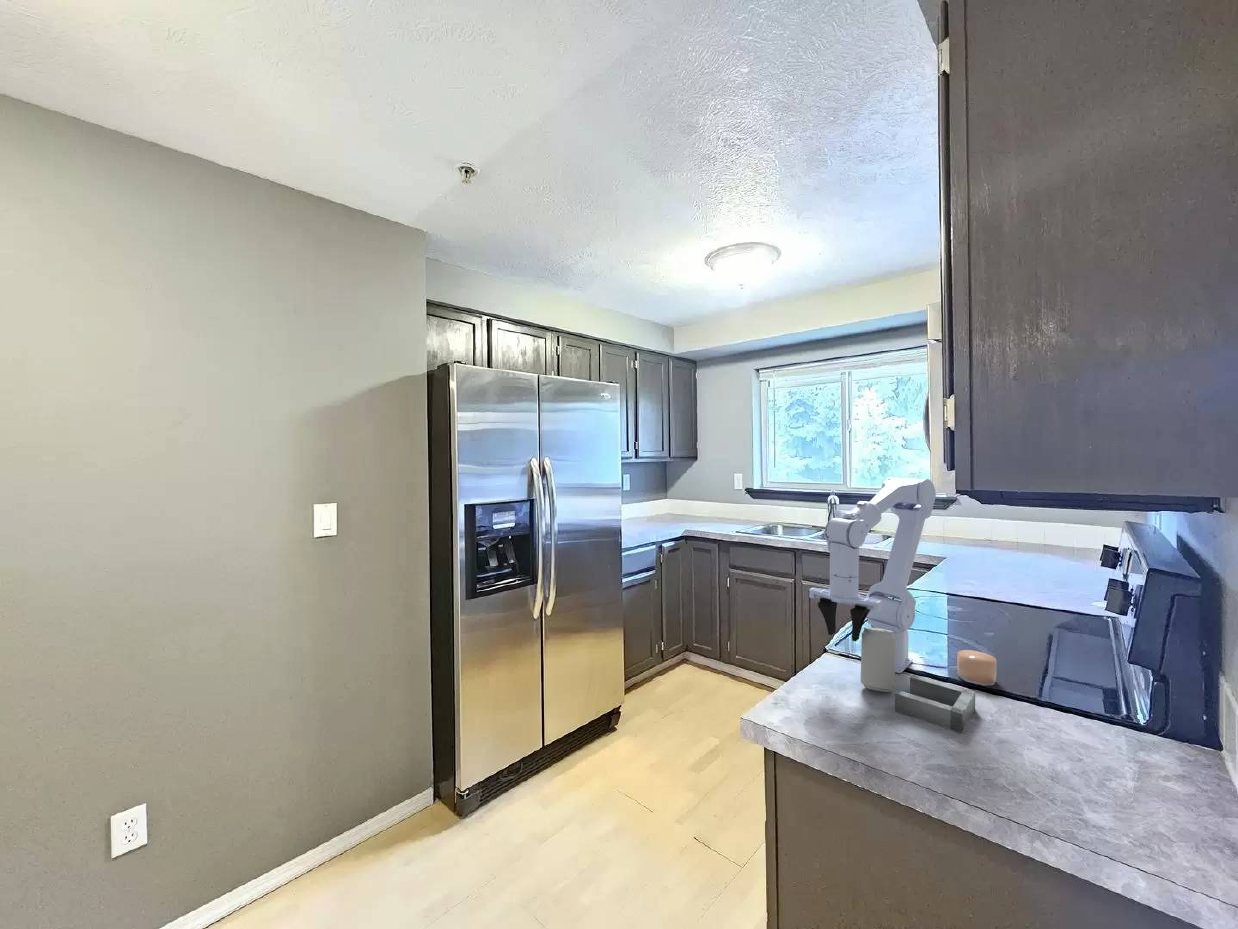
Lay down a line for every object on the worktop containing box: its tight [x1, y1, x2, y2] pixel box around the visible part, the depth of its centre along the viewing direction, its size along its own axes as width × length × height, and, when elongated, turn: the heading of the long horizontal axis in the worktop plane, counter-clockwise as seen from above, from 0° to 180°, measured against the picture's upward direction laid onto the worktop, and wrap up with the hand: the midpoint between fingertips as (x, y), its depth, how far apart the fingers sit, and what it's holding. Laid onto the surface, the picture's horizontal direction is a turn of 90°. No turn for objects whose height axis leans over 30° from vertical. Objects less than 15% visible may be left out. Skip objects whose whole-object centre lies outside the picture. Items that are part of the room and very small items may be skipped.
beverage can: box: [860, 626, 896, 693], centre depth 109 cm, size 6×6×12 cm
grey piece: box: [894, 673, 976, 734], centre depth 101 cm, size 11×11×4 cm
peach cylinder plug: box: [956, 649, 998, 684], centre depth 114 cm, size 7×7×5 cm
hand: (843, 636), depth 112 cm, fingers open, 4 cm apart
